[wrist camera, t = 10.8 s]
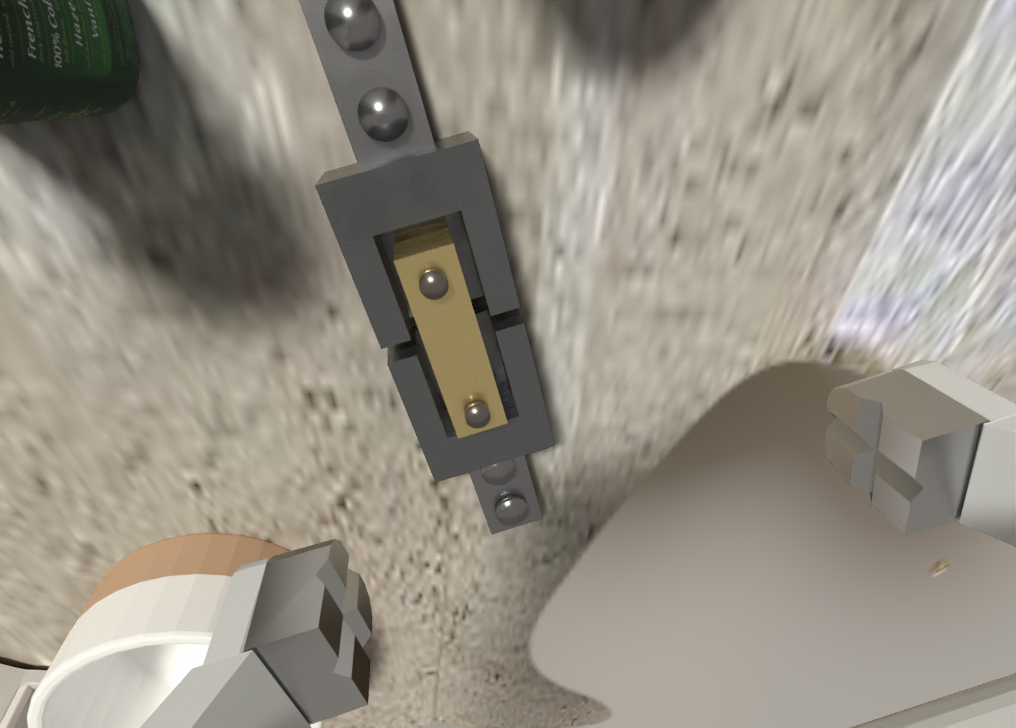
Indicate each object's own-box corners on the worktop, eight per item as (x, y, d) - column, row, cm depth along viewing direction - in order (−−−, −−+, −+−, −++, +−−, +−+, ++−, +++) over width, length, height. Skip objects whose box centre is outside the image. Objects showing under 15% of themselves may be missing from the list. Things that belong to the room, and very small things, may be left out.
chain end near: (256, -3, 26) (234, -14, 22) (422, -48, 26) (426, -66, 22) (382, 320, 34) (381, 348, 30) (507, 283, 34) (520, 307, 31)
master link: (494, 381, 36) (510, 431, 31) (450, 394, 36) (459, 446, 31) (445, 219, 31) (455, 247, 26) (394, 234, 31) (393, 266, 26)
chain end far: (562, 494, 43) (576, 531, 40) (463, 525, 43) (469, 565, 39) (511, 298, 35) (524, 323, 31) (388, 334, 34) (387, 364, 31)
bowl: (173, 492, 37) (119, 595, 30) (380, 590, 45) (377, 691, 37) (46, 640, 41) (-30, 763, 34) (256, 707, 48) (230, 820, 41)
